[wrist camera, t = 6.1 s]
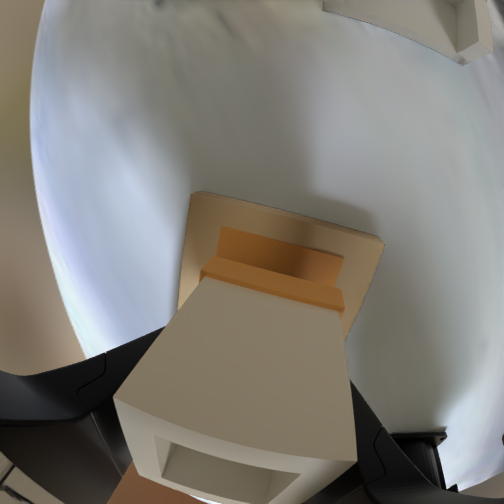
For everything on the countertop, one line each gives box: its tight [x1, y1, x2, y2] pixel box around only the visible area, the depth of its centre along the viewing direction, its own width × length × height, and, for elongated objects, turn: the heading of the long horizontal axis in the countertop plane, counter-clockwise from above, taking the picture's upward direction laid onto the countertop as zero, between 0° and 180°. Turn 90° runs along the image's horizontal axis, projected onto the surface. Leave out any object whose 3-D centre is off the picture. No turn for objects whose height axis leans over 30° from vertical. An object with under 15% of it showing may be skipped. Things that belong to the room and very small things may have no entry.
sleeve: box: [113, 256, 357, 504], centre depth 7 cm, size 4×4×6 cm
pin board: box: [178, 191, 385, 341], centre depth 12 cm, size 8×15×4 cm, turn 168°
